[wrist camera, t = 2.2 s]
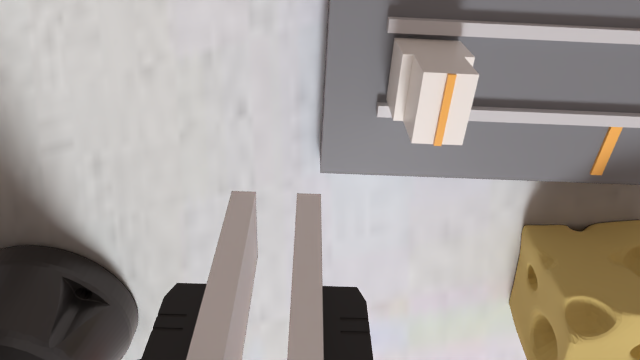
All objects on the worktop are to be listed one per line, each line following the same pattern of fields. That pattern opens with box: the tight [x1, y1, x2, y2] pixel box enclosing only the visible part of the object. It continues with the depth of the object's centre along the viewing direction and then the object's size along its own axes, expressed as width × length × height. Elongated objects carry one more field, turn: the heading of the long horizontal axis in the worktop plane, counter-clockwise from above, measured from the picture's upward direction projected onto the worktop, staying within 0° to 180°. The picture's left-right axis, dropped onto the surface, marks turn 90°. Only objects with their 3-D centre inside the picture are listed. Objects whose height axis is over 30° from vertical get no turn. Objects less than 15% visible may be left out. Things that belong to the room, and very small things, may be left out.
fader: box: [386, 38, 479, 146], centre depth 27 cm, size 4×4×6 cm
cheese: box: [509, 220, 640, 360], centre depth 37 cm, size 10×11×10 cm
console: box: [320, 0, 640, 185], centre depth 30 cm, size 28×16×4 cm, turn 87°
